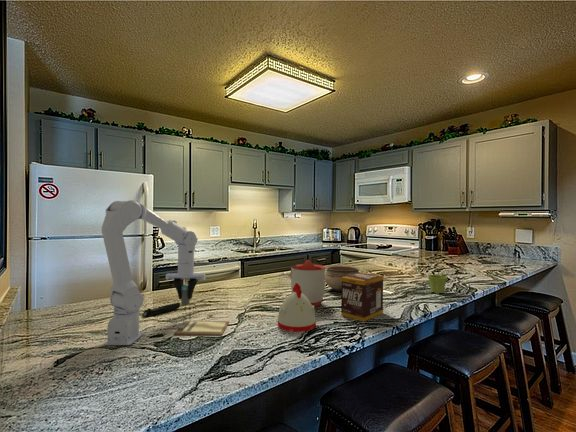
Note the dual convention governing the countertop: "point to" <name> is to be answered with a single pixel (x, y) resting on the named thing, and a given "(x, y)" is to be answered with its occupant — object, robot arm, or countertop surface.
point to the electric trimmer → (160, 309)
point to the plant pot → (437, 283)
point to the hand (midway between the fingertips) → (185, 298)
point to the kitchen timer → (296, 312)
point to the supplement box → (362, 296)
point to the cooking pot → (338, 275)
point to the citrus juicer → (309, 281)
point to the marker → (184, 295)
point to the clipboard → (202, 328)
